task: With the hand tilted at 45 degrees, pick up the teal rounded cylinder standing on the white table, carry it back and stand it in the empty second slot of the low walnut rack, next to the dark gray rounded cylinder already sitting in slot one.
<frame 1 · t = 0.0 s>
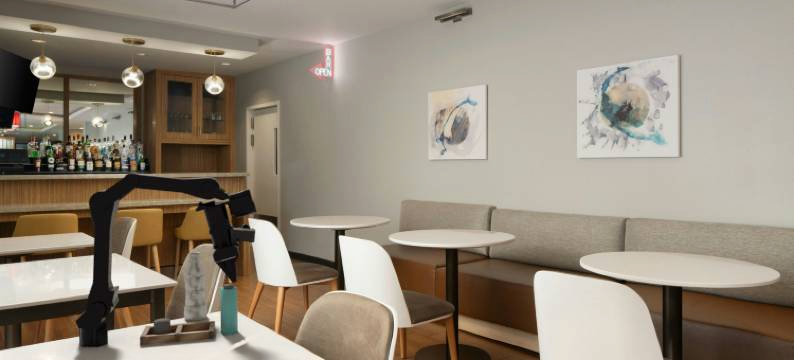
hand: (234, 278, 151), 15 cm above the table, tool pointing down, fingers open, 9 cm apart
teal rounded cylinder: (229, 335, 151), on the table
plastic bottle: (195, 322, 164), on the table
dark gray rounded cylinder: (162, 337, 146), point 1 cm above the table, touching rack
rack: (195, 338, 149), on the table
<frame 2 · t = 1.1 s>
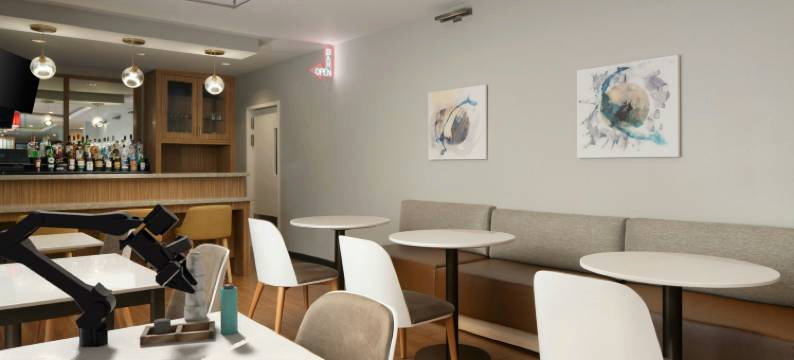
hand: (195, 288, 148), 13 cm above the table, tool tilted 45°, fingers open, 9 cm apart
nothing on the table moved.
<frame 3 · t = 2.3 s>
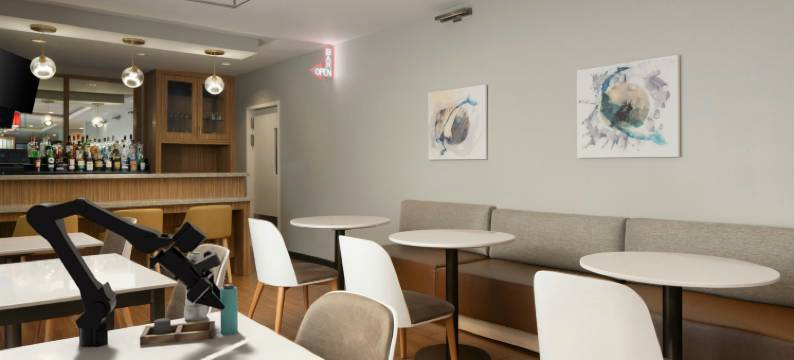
hand: (224, 303, 150), 9 cm above the table, tool tilted 45°, fingers open, 9 cm apart
nothing on the table moved.
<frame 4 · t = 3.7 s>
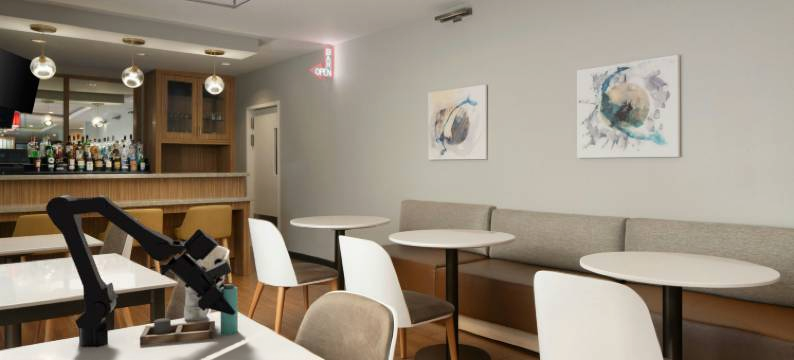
hand: (234, 311, 151), 7 cm above the table, tool tilted 45°, fingers closed on teal rounded cylinder, 4 cm apart
teal rounded cylinder: (229, 335, 151), on the table, touching gripper
everything else where it was.
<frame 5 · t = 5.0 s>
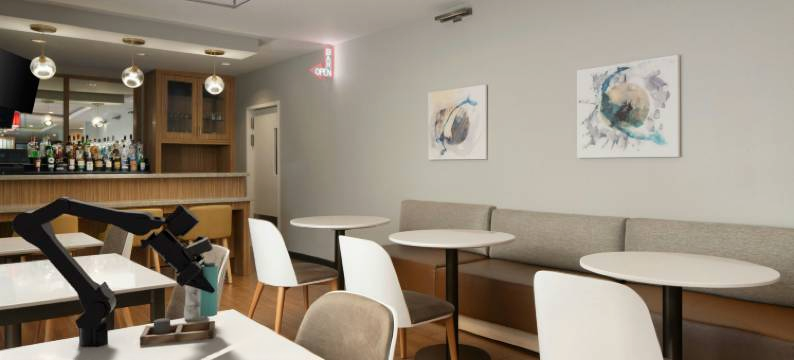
hand: (214, 289, 150), 13 cm above the table, tool tilted 45°, fingers closed on teal rounded cylinder, 4 cm apart
teal rounded cylinder: (208, 314, 149), point 6 cm above the table, touching gripper
everything else where it was.
when the fingers open (9 cm above the table, at t = 6.4 s): teal rounded cylinder drops 1 cm, resting on rack.
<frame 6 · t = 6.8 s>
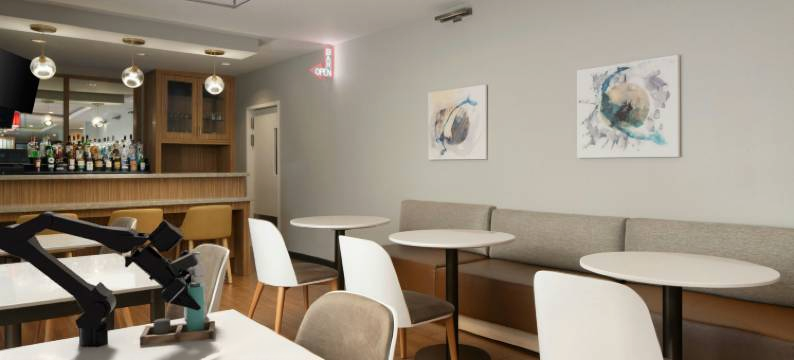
hand: (200, 304, 149), 9 cm above the table, tool tilted 45°, fingers open, 9 cm apart
teal rounded cylinder: (195, 334, 149), point 1 cm above the table, touching rack
everything else where it was.
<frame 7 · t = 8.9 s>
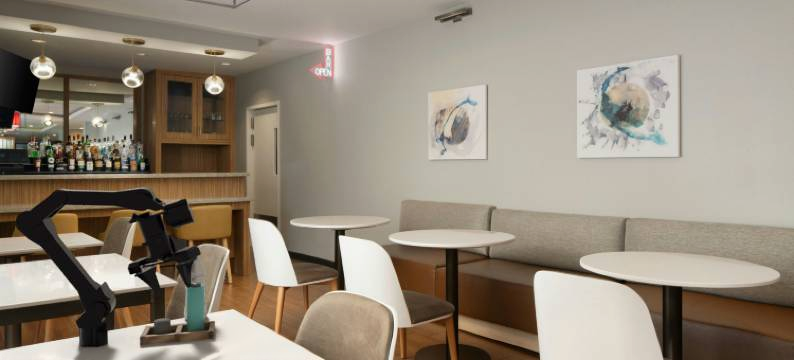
hand: (174, 290, 147), 13 cm above the table, tool tilted 15°, fingers open, 9 cm apart
nothing on the table moved.
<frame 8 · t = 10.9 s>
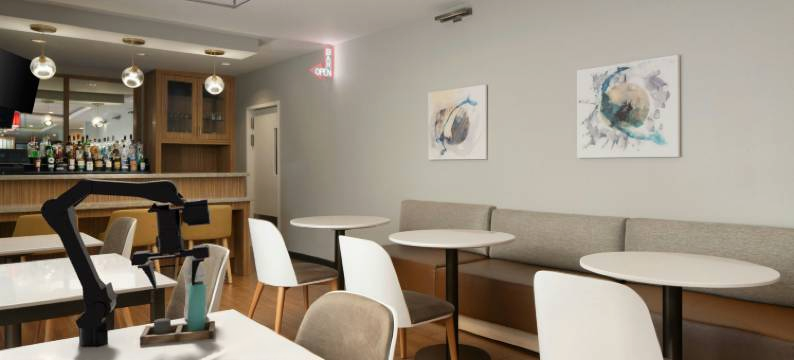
hand: (174, 287, 147), 14 cm above the table, tool pointing down, fingers open, 9 cm apart
teal rounded cylinder: (195, 333, 149), point 1 cm above the table, tilted 8°, touching gripper, rack
everything else where it was.
at the end: teal rounded cylinder 0.1 cm from the rack (horizontally); teal rounded cylinder point 1.3 cm above the table; teal rounded cylinder tilted 8° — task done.
